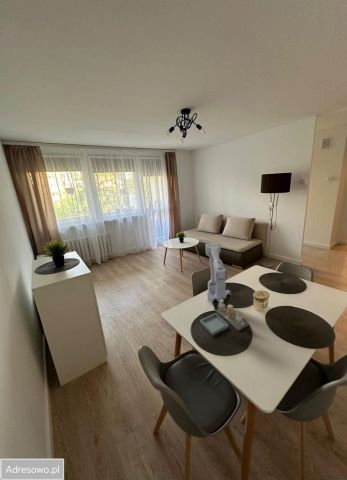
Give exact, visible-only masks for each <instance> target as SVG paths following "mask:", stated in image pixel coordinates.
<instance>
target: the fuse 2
mask: <svg viewBox="0 0 347 480" xmlns="http://www.w3.org/2000/svg"><path fill="white" fill-rule="evenodd" d="M235 312H236V313H235V314H236V323H237V324H238V325H241V323H242V319H243V312H242V311H239V310H237V311H235Z"/></svg>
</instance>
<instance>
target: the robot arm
mask: <svg viewBox="0 0 347 480" xmlns="http://www.w3.org/2000/svg"><path fill="white" fill-rule="evenodd" d="M221 247H222V246H221V244H220V242H217V243H206V244H205V254H206V256H208V257H209V266H210V268H209V269H210V280H209V281H208V282H207V294H206V296H207V300H206V302H207V303H209V304H210V305H211V306H212V307H213V309H214V308H215V309H216V310H217V309H218V305H220V299H223V303H224V304H225V306H228V302H229V300H230V298H231V297H232V296H231V290H230V289H226V279H227V278H228V273H227V269H226V267H224V263H223V261H222V260H221V258H220V253H221Z"/></svg>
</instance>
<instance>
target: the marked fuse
mask: <svg viewBox="0 0 347 480" xmlns="http://www.w3.org/2000/svg"><path fill="white" fill-rule="evenodd" d="M226 307H227V316H228V317H231V316H232V315H233V312H234V305H232V304H227V305H226Z"/></svg>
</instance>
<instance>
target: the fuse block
mask: <svg viewBox="0 0 347 480" xmlns="http://www.w3.org/2000/svg"><path fill="white" fill-rule="evenodd" d="M213 311H214V312H215V313H216V314H217V315H218V316H220V317H221V318H222V319H223V320H224V321H225V322H226V323H228V324H230V326H232V327H233V328H234V329H235V330H237V332H239V331H241V330H243V329H245V328H247V327H249V323H248V322H247V321H245V320H244V318H242V323H241V325H238V324H237V323H236V313H235V312H234V311H233V315H232V316H231V317H228V316H227V305H225V309H223V311H221V310H220V305H218V309H217V310H216V309H215V308H214V307H213Z"/></svg>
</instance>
